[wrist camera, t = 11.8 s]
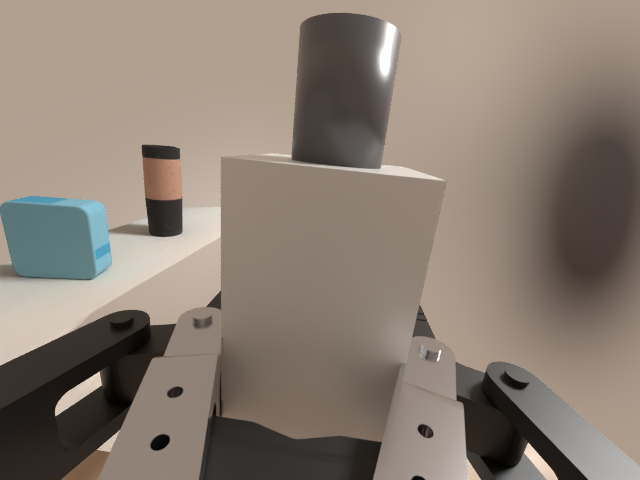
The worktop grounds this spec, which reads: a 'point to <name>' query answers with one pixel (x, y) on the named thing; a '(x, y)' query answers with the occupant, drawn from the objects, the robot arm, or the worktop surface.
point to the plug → (325, 248)
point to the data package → (56, 237)
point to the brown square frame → (89, 467)
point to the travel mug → (163, 189)
